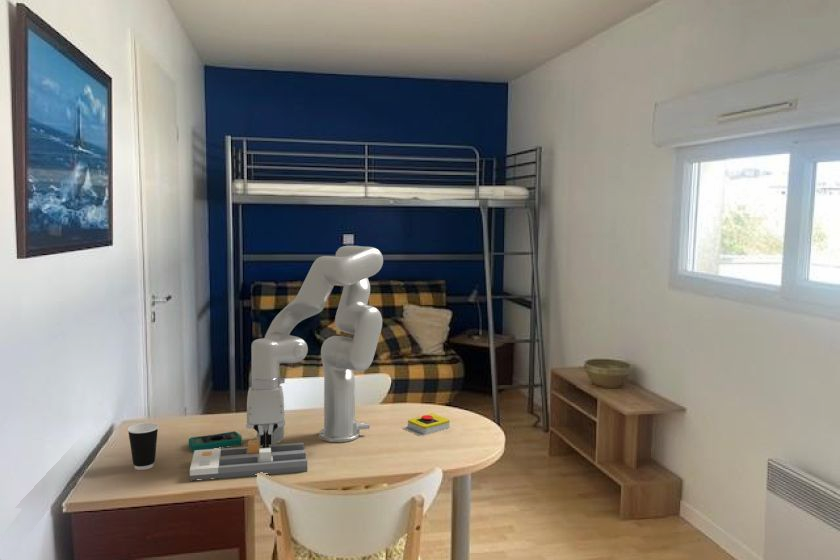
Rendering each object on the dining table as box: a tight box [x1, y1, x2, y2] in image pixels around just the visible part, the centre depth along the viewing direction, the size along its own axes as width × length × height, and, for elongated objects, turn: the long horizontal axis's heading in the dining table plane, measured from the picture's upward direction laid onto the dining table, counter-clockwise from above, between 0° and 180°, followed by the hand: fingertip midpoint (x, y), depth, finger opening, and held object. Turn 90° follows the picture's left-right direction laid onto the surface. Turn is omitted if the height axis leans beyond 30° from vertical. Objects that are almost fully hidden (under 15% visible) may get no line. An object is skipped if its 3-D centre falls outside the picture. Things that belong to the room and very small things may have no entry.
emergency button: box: [403, 413, 451, 437], centre depth 210 cm, size 9×4×15 cm
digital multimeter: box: [188, 431, 243, 453], centre depth 191 cm, size 7×15×3 cm, turn 119°
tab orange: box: [246, 439, 261, 454], centre depth 179 cm, size 4×4×4 cm
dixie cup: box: [126, 422, 160, 471], centre depth 174 cm, size 8×8×11 cm
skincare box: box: [256, 424, 285, 445], centre depth 195 cm, size 6×6×7 cm
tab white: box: [258, 448, 273, 463], centre depth 173 cm, size 4×4×4 cm
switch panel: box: [189, 442, 308, 481], centre depth 175 cm, size 30×14×3 cm, turn 105°
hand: (265, 447), depth 179 cm, fingers closed
